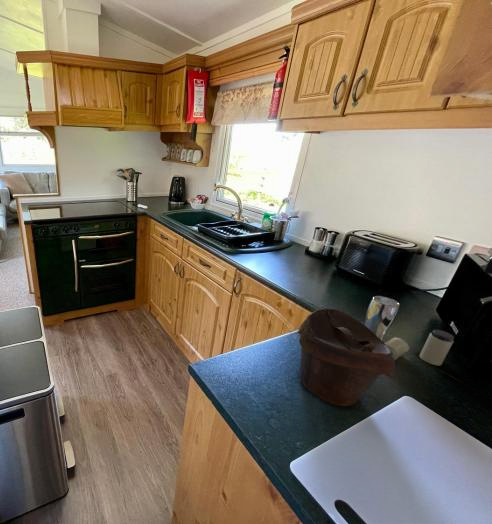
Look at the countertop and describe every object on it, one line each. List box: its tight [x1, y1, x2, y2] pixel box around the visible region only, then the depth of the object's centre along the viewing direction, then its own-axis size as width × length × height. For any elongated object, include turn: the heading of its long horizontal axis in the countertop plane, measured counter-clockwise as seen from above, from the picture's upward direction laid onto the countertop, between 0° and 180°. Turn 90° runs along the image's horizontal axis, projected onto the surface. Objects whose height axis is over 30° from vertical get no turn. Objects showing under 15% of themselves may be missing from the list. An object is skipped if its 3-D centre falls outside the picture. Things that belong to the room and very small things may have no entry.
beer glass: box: [364, 295, 401, 342], centre depth 90 cm, size 7×7×15 cm
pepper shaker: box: [418, 329, 455, 367], centre depth 85 cm, size 5×5×9 cm
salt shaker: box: [383, 337, 410, 361], centre depth 85 cm, size 5×5×9 cm
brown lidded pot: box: [297, 307, 396, 407], centre depth 69 cm, size 18×20×18 cm
